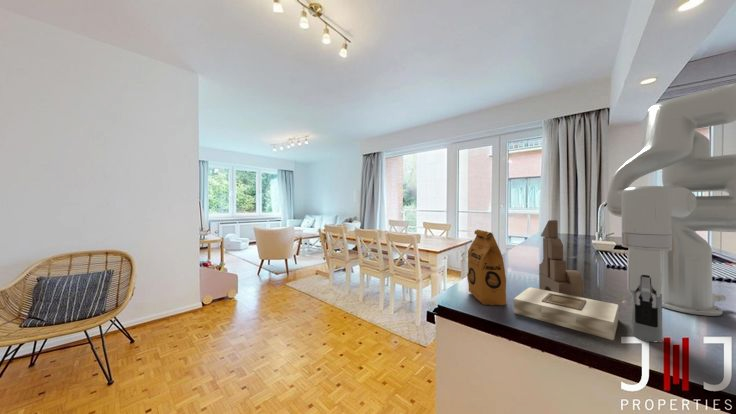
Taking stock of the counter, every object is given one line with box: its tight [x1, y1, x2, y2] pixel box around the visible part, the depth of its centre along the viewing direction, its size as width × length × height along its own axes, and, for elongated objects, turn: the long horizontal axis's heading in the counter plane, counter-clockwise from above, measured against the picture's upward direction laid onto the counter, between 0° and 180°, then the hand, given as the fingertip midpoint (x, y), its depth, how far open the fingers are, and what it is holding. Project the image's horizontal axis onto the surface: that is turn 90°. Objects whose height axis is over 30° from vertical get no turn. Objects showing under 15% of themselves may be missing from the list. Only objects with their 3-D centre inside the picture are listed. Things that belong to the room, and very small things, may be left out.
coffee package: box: [466, 229, 507, 306], centre depth 81 cm, size 10×12×22 cm
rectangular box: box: [513, 286, 620, 341], centre depth 67 cm, size 20×14×4 cm
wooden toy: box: [538, 219, 584, 298], centre depth 82 cm, size 16×7×25 cm, turn 167°
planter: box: [631, 290, 664, 343], centre depth 56 cm, size 4×4×10 cm
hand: (646, 317), depth 56 cm, fingers open, 9 cm apart
